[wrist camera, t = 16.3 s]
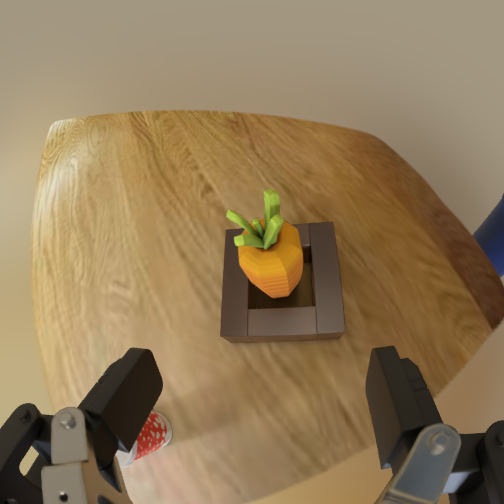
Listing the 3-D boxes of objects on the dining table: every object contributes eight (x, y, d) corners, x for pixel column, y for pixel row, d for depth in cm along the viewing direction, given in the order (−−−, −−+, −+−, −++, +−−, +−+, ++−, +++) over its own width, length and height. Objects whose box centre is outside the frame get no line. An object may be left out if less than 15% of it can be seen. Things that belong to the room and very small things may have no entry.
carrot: (272, 323, 28) (238, 262, 15) (250, 284, 30) (204, 200, 17) (314, 298, 28) (319, 218, 15) (290, 261, 30) (274, 164, 17)
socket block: (330, 240, 31) (332, 221, 27) (339, 338, 26) (345, 331, 22) (234, 247, 32) (225, 229, 29) (230, 342, 27) (220, 336, 24)
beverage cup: (175, 404, 25) (86, 408, 13) (181, 456, 22) (98, 491, 10) (128, 401, 26) (34, 396, 14) (133, 450, 23) (43, 467, 11)
